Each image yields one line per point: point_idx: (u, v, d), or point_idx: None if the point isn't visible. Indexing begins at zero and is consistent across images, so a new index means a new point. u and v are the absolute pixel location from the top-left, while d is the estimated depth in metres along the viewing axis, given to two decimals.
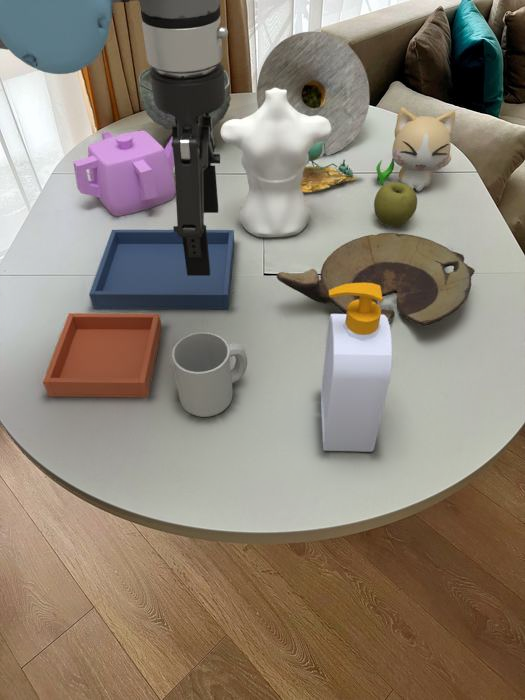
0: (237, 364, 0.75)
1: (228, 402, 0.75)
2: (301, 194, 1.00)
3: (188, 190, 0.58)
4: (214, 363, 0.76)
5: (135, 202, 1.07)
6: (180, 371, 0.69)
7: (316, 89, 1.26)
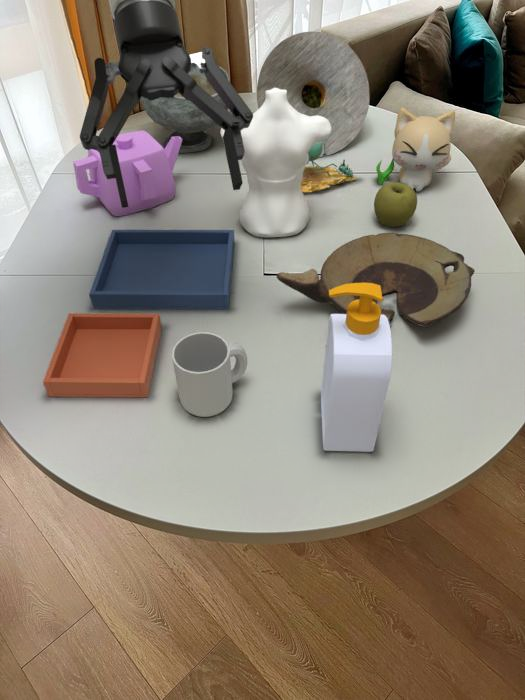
0: (237, 364, 0.75)
1: (228, 402, 0.75)
2: (301, 194, 1.00)
3: None
4: (214, 363, 0.76)
5: (135, 201, 1.07)
6: (180, 371, 0.69)
7: (316, 89, 1.26)
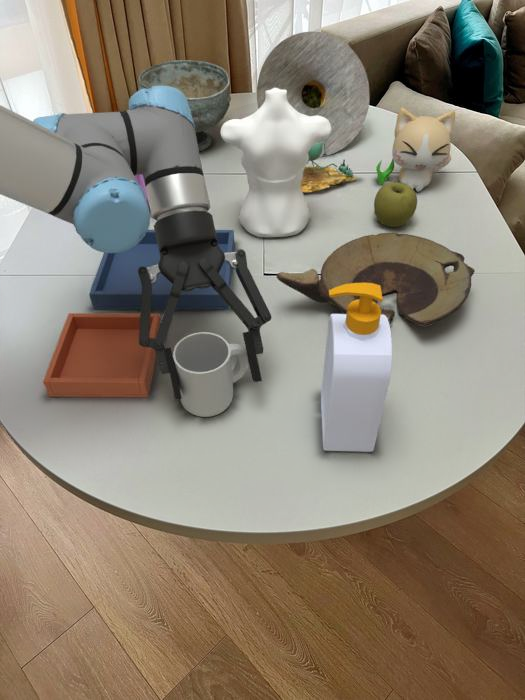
0: (238, 364, 0.75)
1: (229, 402, 0.75)
2: (301, 194, 1.00)
3: None
4: (214, 363, 0.76)
5: None
6: (181, 371, 0.69)
7: (316, 89, 1.26)
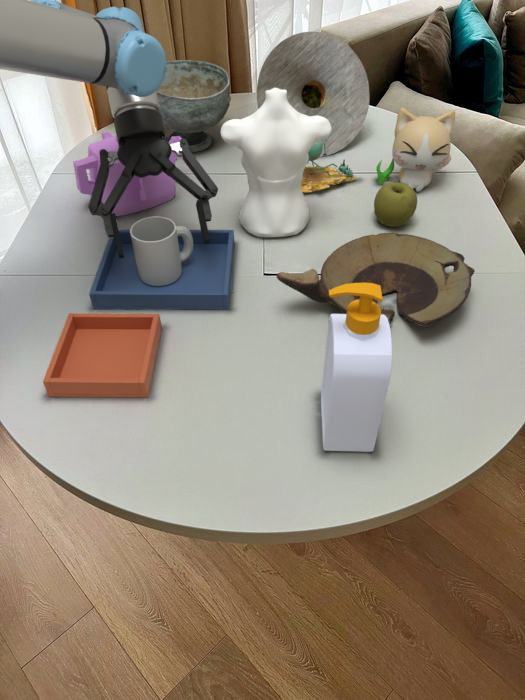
0: (185, 245, 0.93)
1: (177, 275, 0.93)
2: (301, 194, 1.00)
3: None
4: None
5: (135, 201, 1.07)
6: (136, 242, 0.87)
7: (316, 89, 1.26)
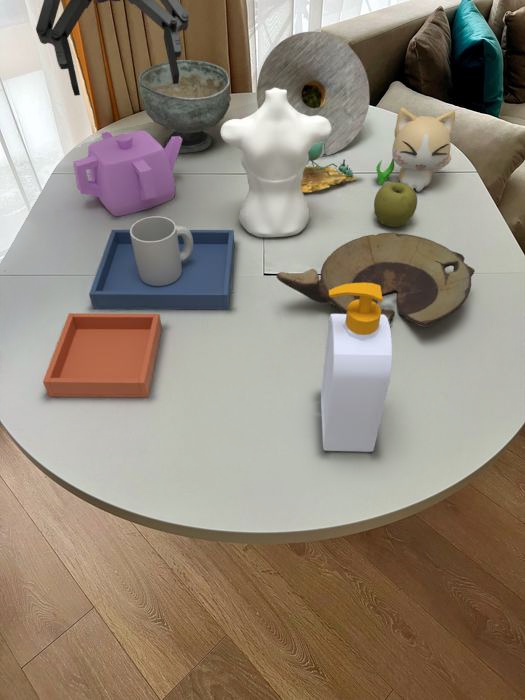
0: (185, 245, 0.93)
1: (177, 275, 0.93)
2: (301, 194, 1.00)
3: None
4: None
5: (135, 201, 1.07)
6: (136, 242, 0.87)
7: (316, 89, 1.26)
